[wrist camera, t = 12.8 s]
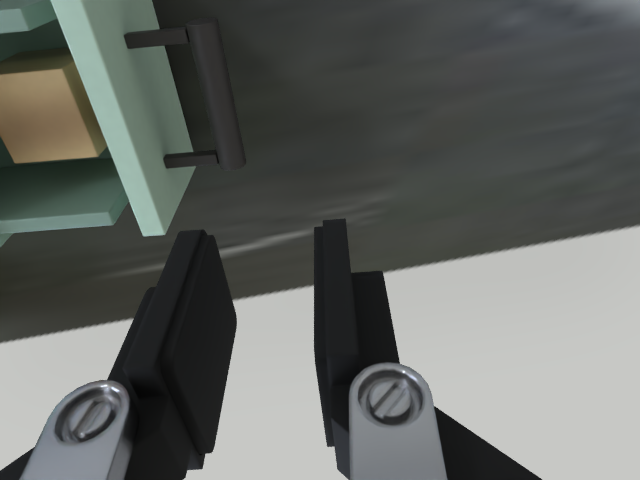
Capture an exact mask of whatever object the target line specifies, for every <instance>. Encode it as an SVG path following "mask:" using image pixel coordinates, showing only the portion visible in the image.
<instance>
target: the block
mask: <svg viewBox="0 0 640 480" xmlns="http://www.w3.org/2000/svg"><path fill="white" fill-rule="evenodd" d="M0 137H1V138H2V140H3V142H4V144H5V146H6V148H7V150H8V151H9V153H10V155H11V157H12V159H13V161H14V163H15V164H18V163H30V162H42V161H54V160H66V159H78V158H90V157H98V156H99V155H100V154H101V153H102V152H103V151H104V149H105V148H106V147H107V146H108V145H107V143H106V140H105V138H104V135H103V133H102V130H101V128H100V125H99V123H98V120H97V117H96V115H95V112H94V110H93V107H92V105H91V102H90V100H89V97H88V95H87V92H86V89H85V87H84V84H83V82H82V79H81V77H80V74H79V72H78V69H77V67H76V64H75V61H74V59H73V56H72V54H71V51H70V49H69V47H68V48H58V49H47V50H37V51H26V52H19V53H17V54H15V55H13V56H11V57H9V58H7V59H5V60H3V61H1V62H0Z"/></svg>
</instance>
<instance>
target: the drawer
mask: <svg viewBox="0 0 640 480" xmlns="http://www.w3.org/2000/svg"><path fill="white" fill-rule="evenodd" d="M189 42H190V45H191V49H192V53H193V57H194V61H195V65H196V69H197V74H198V78H199V82H200V86H201V90H202V94H203V98H204V103H205V107H206V111H207V115H208V119H209V123H210V127H211V132H212V136H213V140H214V144H215V148H216V150H209V151H197V152H193V149H192V145H191V141H190V138H189V134H188V130H187V127H186V123H185V119H184V116H183V112H182V108H181V105H180V101H179V97H178V94H177V90H176V86H175V83H174V79H173V75H172V72H171V68H170V65H169V61H168V57H167V54H166V50H165V46H166V45H176V44H187V43H189ZM68 47H69V49H70V51H71V54H72V56H73V59H74V61H75V64H76V67H77V69H78V72H79V74H80V77H81V79H82V82H83V84H84V87H85V89H86V92H87V95H88V97H89V100H90V102H91V105H92V107H93V110H94V112H95V115H96V117H97V120H98V123H99V125H100V128H101V130H102V133H103V135H104V138H105V140H106V143H107V145H108V146H107V147H106V148H105V149H104V151H103V152H102V153H101V154H100V155H99V156H98V157H90V158H78V159H66V160H54V161H42V162H30V163H18V164H15V163H14V161H13V159H12V157H11V155H10V153H9V151H8V150H7V148H6V146H5V144H4V142H3V140H2V138H1V137H0V234H4V233H17V232H30V231H42V230H55V229H68V228H81V227H94V226H107V225H114V224H115V222H116V221H117V219H118V218H119V216H120V214H121V213H122V211H123V210H124V208H125V206H126V205H127V203H128V202H130V204H131V207H132V209H133V212H134V214H135V217H136V219H137V222H138V224H139V227H140V230H141V232H142V235H143V236H156V235H165V234H166V232H167V230H168V227H169V225H170V223H171V221H172V219H173V216H174V214H175V212H176V210H177V208H178V205H179V203H180V201H181V199H182V197H183V194H184V192H185V190H186V188H187V186H188V183H189V181H190V179H191V177H192V174H193V172H194V170H195V168H196V166H205V165H217V164H218V163H219V165H220V167H221V169H223V170H236V169H239V168H242V167H243V166H244V165H245V164H246V158H245V153H244V148H243V143H242V138H241V133H240V128H239V123H238V118H237V113H236V109H235V104H234V99H233V94H232V89H231V84H230V79H229V74H228V69H227V64H226V59H225V54H224V49H223V44H222V39H221V34H220V29H219V24H218V20H217V19H216V18H202V19H196V20H192V21H189V22H187V23H186V27H177V28H166V29H160V28H159V24H158V21H157V17H156V13H155V10H154V6H153V2H152V0H0V62H1V61H3V60H5V59H7V58H9V57H11V56H13V55H15V54H17V53H19V52H26V51H37V50H47V49H58V48H68Z"/></svg>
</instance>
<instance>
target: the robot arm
mask: <svg viewBox="0 0 640 480" xmlns="http://www.w3.org/2000/svg"><path fill="white" fill-rule="evenodd" d="M236 326H237V318H236V312H235V309H234V306H233V301H232V298H231V294H230V290H229V287H228V283H227V280H226V276H225V272H224V269H223V265H222V262H221V258H220V254H219V251H218V247H217V244H216V240H215V237H214V236H213V235H207V233H206V232H205V230H191V231H181V232H179V233H178V235H177V238H176V240H175V243H174V245H173V247H172V250H171V252H170V255H169V257H168V259H167V262H166V264H165V267H164V269H163V272H162V274H161V276H160V279H159V281H158V284H157V286H156V287H151V288H149V289H148V290H147V291H146V293H145V295H144V297H143V299H142V301H141V304H140V306H139V308H138V311H137V313H136V315H135V317H134V320H133V322H132V324H131V327H130V329H129V331H128V333H127V336H126V338H125V340H124V343H123V345H122V347H121V350H120V352H119V354H118V356H117V359H116V361H115V363H114V366H113V368H112V370H111V373H110V375H109V377H108V379H107V380H99V381H95V382H91V383H88V384H86V385H83V386H81V387H79V388H77V389H76V390H74V391H73V392H71V393H70V394H68V395H67V396H65V397H64V399H62V400H61V402H60V403H59V404H58V405H57V406H56V407H55V409H54V410H53V412H52V413H51V415H50V416H49V418H48V420H47V422H46V424H45V426H44V428H43V431H42V433H41V435H40V437H39V439H38V441H37V443H36V445H35V447H34V448H33V449H31V450H30V451H28V452H27V453H25V454H24V455H22V456H21V457H19V458H18V459H17V460H15V461H14V462H12V463H11V464H9V465H8V466H6V467H5V468H4V469H2V470H1V471H0V480H183V479H184V478H185V477H186V473H187V470H196V469H202V468H203V463H204V458H205V453H211V452H213V449H214V446H215V440H216V435H217V430H218V424H219V418H220V413H221V408H222V403H223V397H224V391H225V386H226V381H227V375H228V370H229V365H230V359H231V354H232V348H233V343H234V338H235V332H236ZM314 352H315V364H316V372H317V379H318V386H319V393H320V400H321V406H322V413H323V421H324V428H325V435H326V442H327V446H328V447H332V446H335V453H336V461H337V469H338V470H339V471H340V472H341V473H342V474H343V475H344V476H345V477H346V478H348V479H349V480H542V479H541V478H539V477H538V476H536V475H535V474H533V473H532V472H530V471H529V470H527V469H526V468H524V467H523V466H521V465H520V464H518V463H517V462H516V461H514V460H513V459H511V458H510V457H508V456H507V455H505V454H504V453H502V452H501V451H499V450H498V449H497V448H495V447H494V446H492V445H491V444H489V443H487V442H486V441H485V440H483V439H481V438H480V437H479V436H477V435H476V434H474V433H473V432H472V431H470V430H468V429H467V428H466V427H464V426H463V425H461V424H459V423H458V422H457V421H455V420H454V419H452V418H451V417H449V416H448V415H447V414H445V413H444V412H442V411H441V410H439V409H438V408H436V407H435V406H434V405H433V399H432V394H431V391H430V389H429V386H428V384H427V382H426V381H425V380H424V379H423V378H422V376H421V375H420V374H418V373H417V372H416V371H414V370H413V369H411V368H410V367H407V366H404V365H402V364H400V362H399V357H398V351H397V346H396V341H395V335H394V330H393V324H392V319H391V313H390V308H389V303H388V297H387V292H386V286H385V281H384V276H383V272H382V271H372V272H358V273H351V269H350V259H349V249H348V239H347V228H346V219H334V220H323V226H322V227H314Z"/></svg>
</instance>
